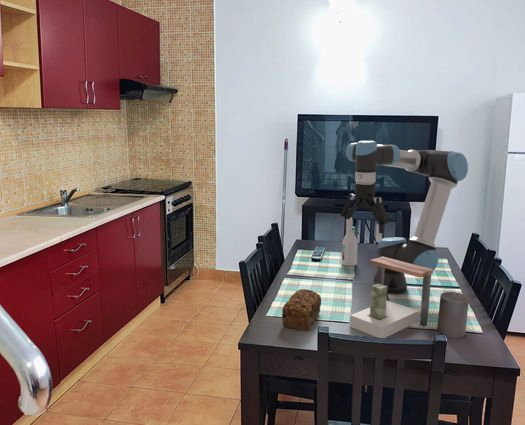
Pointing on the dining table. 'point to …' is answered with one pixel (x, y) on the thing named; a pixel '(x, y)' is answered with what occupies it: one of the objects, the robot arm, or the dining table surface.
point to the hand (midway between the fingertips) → (363, 238)
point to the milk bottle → (349, 249)
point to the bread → (301, 310)
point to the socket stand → (395, 313)
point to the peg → (378, 301)
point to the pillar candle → (452, 314)
